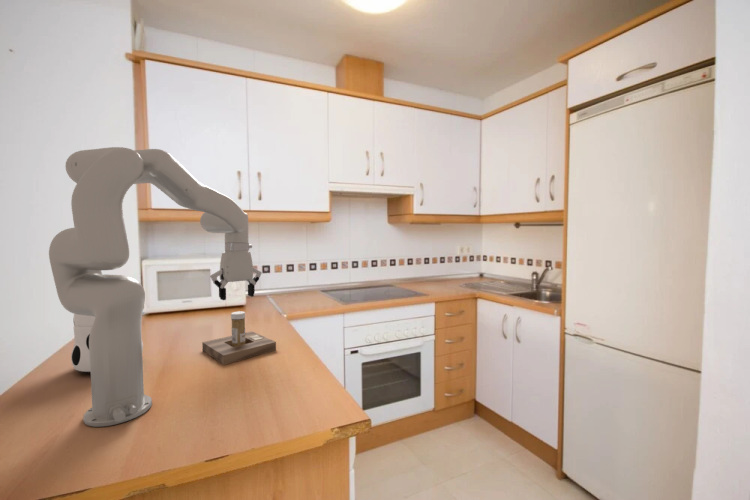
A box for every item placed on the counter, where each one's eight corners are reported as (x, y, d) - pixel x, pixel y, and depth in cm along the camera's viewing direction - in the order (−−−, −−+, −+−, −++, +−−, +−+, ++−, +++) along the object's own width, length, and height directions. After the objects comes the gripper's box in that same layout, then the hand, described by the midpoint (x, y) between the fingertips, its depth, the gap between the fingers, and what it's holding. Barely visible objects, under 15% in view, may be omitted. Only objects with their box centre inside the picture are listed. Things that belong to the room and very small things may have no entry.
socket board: (276, 350, 119) (275, 341, 119) (223, 364, 106) (223, 354, 106) (252, 338, 132) (251, 330, 132) (202, 350, 119) (202, 341, 119)
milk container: (86, 360, 110) (84, 305, 109) (149, 353, 116) (147, 301, 115) (59, 382, 94) (56, 318, 93) (134, 373, 100) (132, 312, 99)
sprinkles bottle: (247, 351, 118) (246, 312, 117) (233, 353, 116) (232, 314, 115) (244, 347, 122) (243, 310, 121) (230, 350, 120) (229, 312, 119)
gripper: (255, 247, 126) (256, 293, 126) (206, 248, 113) (206, 299, 114) (265, 247, 120) (266, 296, 121) (214, 249, 108) (215, 302, 109)
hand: (237, 297), depth 118 cm, fingers open, 9 cm apart
